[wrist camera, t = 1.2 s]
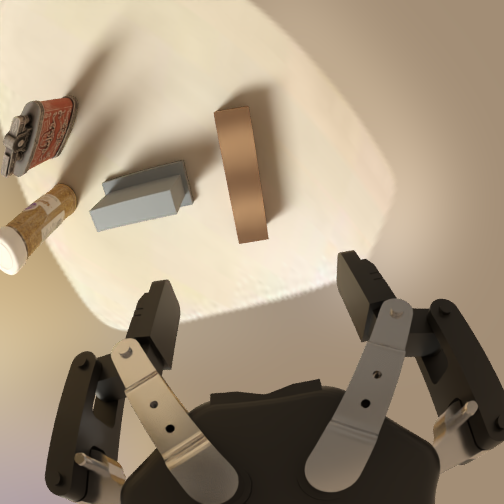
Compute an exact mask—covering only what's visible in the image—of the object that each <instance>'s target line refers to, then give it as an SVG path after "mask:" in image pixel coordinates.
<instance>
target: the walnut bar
mask: <svg viewBox="0 0 504 504" xmlns="http://www.w3.org/2000/svg"><path fill="white" fill-rule="evenodd" d="M214 117H215V123H216V128H217V133H218V139H219V144H220V149H221V154H222V159H223V165H224V170H225V175H226V180H227V185H228V190H229V195H230V200H231V205H232V210H233V215H234V220H235V225H236V230H237V235H238V240H239V244H241V243H248V242H254V241H260V240H266V239H268V232H267V224H266V217H265V210H264V203H263V196H262V189H261V183H260V176H259V169H258V163H257V156H256V149H255V143H254V137H253V130H252V124H251V118H250V111H249V107H248V106H244V107H238V108H232V109H226V110H221V111H216V112H214Z"/></svg>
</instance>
